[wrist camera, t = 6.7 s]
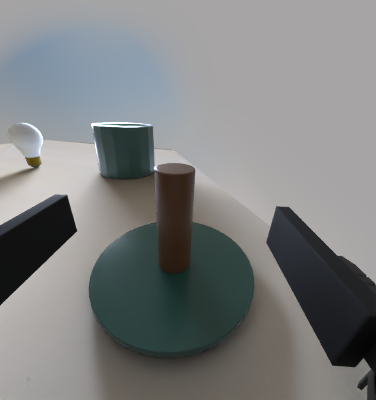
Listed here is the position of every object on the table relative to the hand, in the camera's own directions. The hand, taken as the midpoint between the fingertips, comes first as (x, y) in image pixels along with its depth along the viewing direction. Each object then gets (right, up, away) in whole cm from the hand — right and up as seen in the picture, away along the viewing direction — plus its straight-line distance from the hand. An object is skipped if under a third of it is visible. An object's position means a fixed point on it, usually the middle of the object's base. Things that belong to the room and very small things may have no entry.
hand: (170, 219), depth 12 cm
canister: (-13, +8, +33) cm, 36 cm away
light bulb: (-36, +9, +32) cm, 49 cm away
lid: (0, -5, +5) cm, 7 cm away
